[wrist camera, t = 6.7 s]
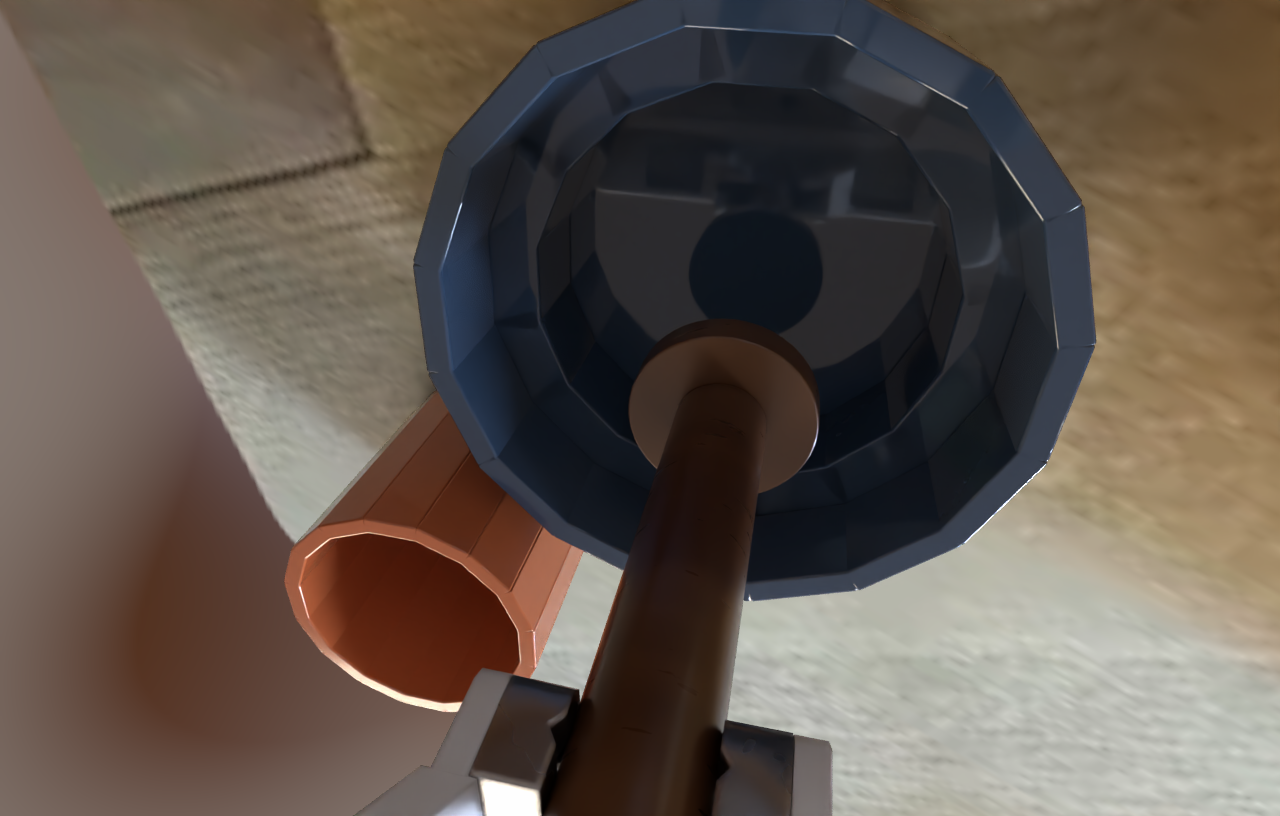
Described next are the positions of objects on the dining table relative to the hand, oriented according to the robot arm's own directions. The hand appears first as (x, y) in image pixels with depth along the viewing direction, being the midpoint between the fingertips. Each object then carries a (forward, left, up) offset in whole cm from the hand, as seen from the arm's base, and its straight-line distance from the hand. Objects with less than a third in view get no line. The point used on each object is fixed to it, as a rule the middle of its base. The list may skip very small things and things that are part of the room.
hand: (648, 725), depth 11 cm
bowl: (-2, 0, -14) cm, 14 cm away
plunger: (0, 0, -9) cm, 9 cm away
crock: (+7, -8, -14) cm, 18 cm away
